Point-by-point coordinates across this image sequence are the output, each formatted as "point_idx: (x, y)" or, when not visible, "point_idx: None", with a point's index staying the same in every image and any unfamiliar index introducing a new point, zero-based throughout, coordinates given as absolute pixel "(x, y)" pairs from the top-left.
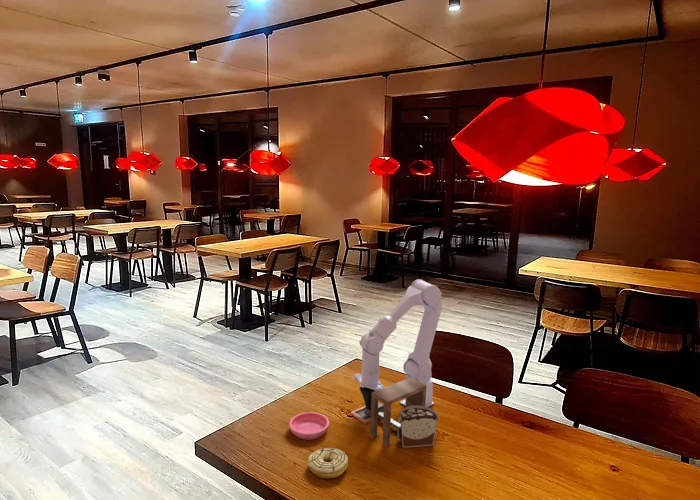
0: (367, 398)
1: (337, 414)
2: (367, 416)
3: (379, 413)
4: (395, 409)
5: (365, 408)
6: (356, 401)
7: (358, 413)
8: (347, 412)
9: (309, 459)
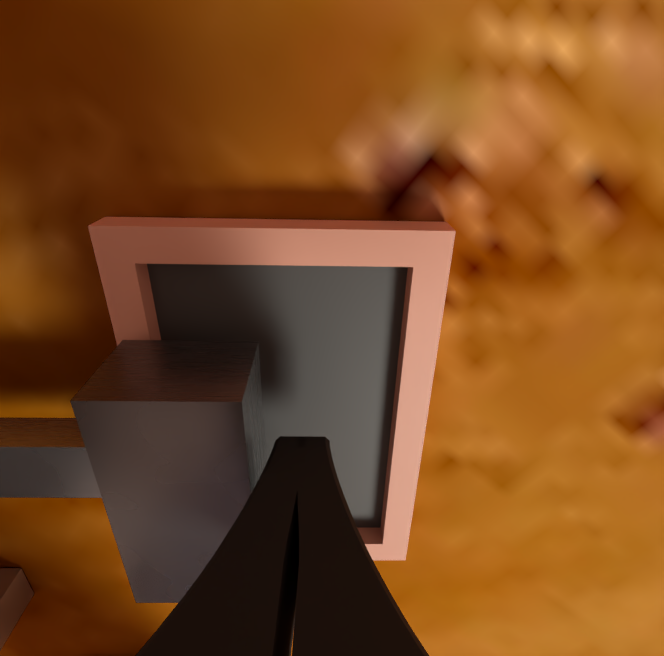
0: (210, 602)
1: (605, 32)
2: None
3: (72, 467)
4: None
5: (212, 395)
6: (587, 457)
7: (372, 311)
8: (512, 217)
9: None
